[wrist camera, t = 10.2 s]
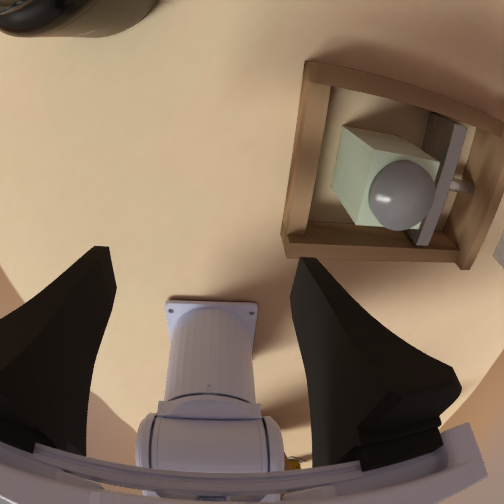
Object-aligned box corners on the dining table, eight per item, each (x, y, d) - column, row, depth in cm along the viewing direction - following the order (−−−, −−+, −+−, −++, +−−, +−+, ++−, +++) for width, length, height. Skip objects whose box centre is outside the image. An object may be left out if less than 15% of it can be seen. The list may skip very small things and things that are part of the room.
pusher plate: (442, 228, 24) (460, 247, 21) (399, 224, 23) (415, 245, 21) (474, 128, 18) (498, 140, 16) (430, 112, 18) (454, 123, 15)
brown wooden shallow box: (447, 243, 25) (469, 269, 22) (280, 233, 23) (289, 267, 20) (489, 116, 18) (522, 131, 14) (304, 61, 16) (323, 62, 13)
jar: (385, 192, 22) (424, 236, 17) (330, 187, 21) (360, 232, 16) (399, 136, 19) (447, 167, 14) (341, 125, 19) (380, 154, 14)
